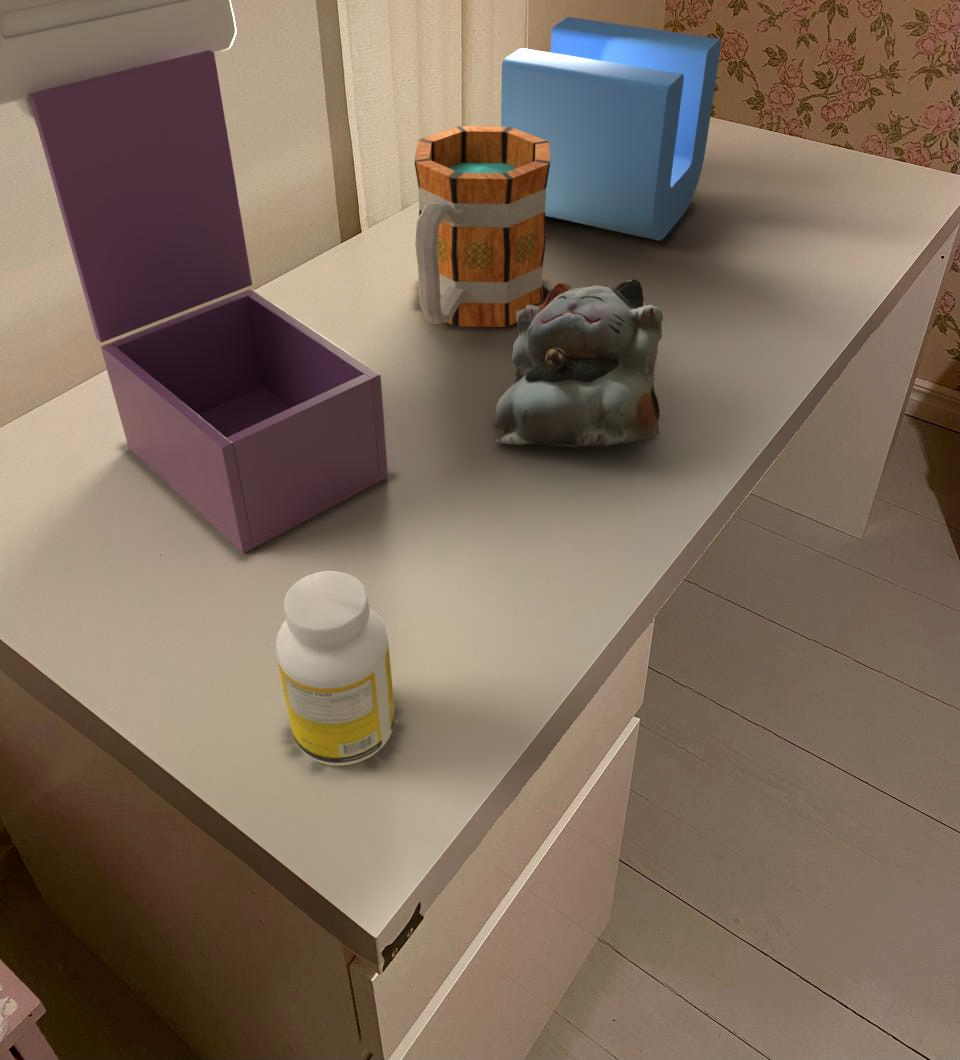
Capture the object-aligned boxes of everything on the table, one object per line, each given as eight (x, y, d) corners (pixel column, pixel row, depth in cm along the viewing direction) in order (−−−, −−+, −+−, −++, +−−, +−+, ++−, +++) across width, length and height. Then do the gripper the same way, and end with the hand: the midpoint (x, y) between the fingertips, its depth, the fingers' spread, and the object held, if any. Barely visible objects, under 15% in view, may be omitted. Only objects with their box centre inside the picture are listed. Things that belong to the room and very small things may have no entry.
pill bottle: (353, 673, 69) (337, 543, 62) (416, 730, 66) (408, 600, 58) (271, 726, 66) (244, 596, 58) (334, 790, 62) (313, 660, 55)
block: (561, 168, 132) (570, 15, 120) (698, 195, 126) (722, 37, 114) (499, 224, 120) (501, 60, 108) (647, 257, 114) (667, 87, 102)
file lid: (214, 52, 76) (177, 36, 79) (32, 96, 69) (-1, 77, 72) (252, 285, 88) (219, 263, 91) (101, 343, 81) (70, 317, 84)
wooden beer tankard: (450, 255, 114) (448, 116, 104) (566, 279, 110) (575, 137, 100) (364, 341, 101) (352, 191, 91) (492, 372, 97) (494, 219, 87)
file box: (388, 477, 85) (381, 374, 78) (243, 554, 78) (221, 448, 72) (266, 386, 95) (250, 288, 88) (128, 447, 88) (100, 346, 81)
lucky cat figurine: (463, 441, 88) (468, 272, 85) (546, 431, 98) (554, 278, 95) (613, 463, 79) (624, 274, 76) (690, 449, 88) (703, 280, 85)
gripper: (189, -103, 75) (220, 93, 85) (-100, -59, 65) (-29, 160, 74) (236, -89, 72) (263, 114, 81) (-62, -40, 62) (8, 187, 71)
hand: (121, 137), depth 78 cm, fingers open, 8 cm apart
